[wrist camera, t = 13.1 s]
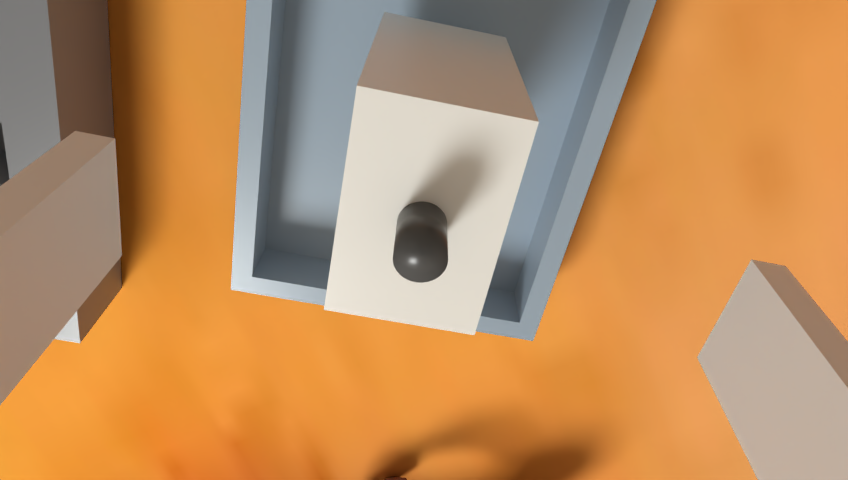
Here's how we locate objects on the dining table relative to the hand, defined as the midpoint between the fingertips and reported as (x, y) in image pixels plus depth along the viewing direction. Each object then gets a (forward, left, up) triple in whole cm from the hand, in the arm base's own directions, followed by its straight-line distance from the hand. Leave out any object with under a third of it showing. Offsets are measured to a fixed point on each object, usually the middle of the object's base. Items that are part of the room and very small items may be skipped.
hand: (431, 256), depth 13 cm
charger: (0, 0, -12) cm, 12 cm away
